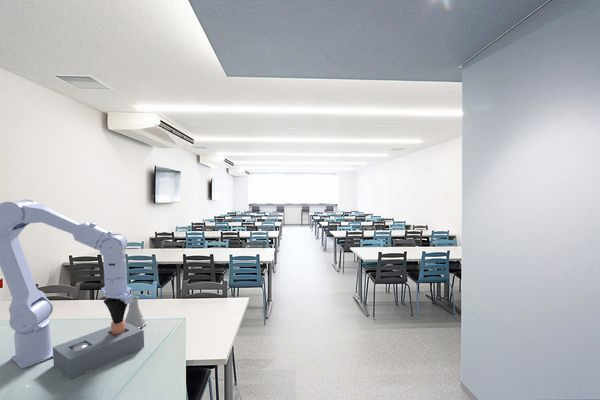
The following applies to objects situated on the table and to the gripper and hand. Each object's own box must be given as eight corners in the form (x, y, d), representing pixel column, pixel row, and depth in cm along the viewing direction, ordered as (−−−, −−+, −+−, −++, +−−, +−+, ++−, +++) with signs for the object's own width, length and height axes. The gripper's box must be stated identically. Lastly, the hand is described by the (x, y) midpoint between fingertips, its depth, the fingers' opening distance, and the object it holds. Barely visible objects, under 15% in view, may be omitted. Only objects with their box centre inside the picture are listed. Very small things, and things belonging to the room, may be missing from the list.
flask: (119, 332, 106) (118, 302, 106) (125, 323, 113) (124, 294, 113) (143, 330, 108) (142, 300, 107) (148, 320, 115) (147, 292, 114)
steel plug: (70, 363, 88) (69, 347, 88) (85, 357, 91) (84, 341, 91) (76, 367, 86) (75, 351, 86) (91, 361, 89) (90, 345, 89)
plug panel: (53, 365, 88) (52, 347, 88) (125, 336, 104) (124, 321, 103) (71, 379, 82) (69, 359, 82) (144, 346, 97) (143, 330, 97)
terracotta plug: (109, 337, 96) (108, 322, 96) (121, 332, 99) (121, 318, 99) (115, 341, 94) (114, 325, 94) (128, 336, 97) (127, 321, 97)
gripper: (142, 277, 95) (144, 323, 96) (117, 269, 103) (119, 311, 104) (117, 283, 89) (120, 332, 90) (92, 275, 97) (95, 320, 98)
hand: (118, 322), depth 96 cm, fingers closed, pressing on terracotta plug
